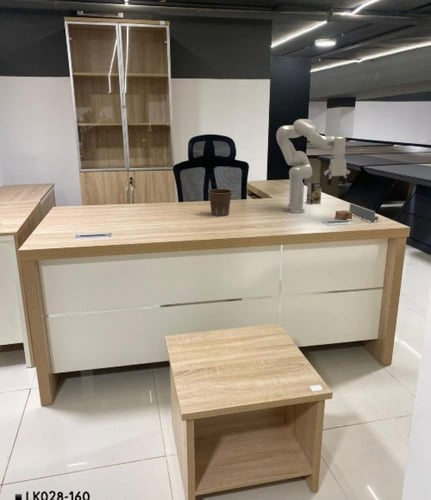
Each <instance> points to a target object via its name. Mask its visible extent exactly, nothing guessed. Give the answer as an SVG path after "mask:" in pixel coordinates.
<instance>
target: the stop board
mask: <svg viewBox="0 0 431 500" xmlns="http://www.w3.org/2000/svg"><path fill="white" fill-rule="evenodd" d="M348 211H349V212H352V214H354V215H356V216H358V217H361V218H364V219H366V220H369V221H371V222H374V221H375V220H379V216H377V215H376V211H375V210H373V209H369V208H366V207H363V206H360V205H357V204H355V203H350V204H349V209H348ZM356 216H355V217H356ZM358 217H357V218H358ZM361 218H360V219H361ZM366 220H365V221H366ZM371 222H370V223H371ZM374 223H375V222H374Z"/></svg>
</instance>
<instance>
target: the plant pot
mask: <svg viewBox="0 0 431 500" xmlns="http://www.w3.org/2000/svg"><path fill="white" fill-rule="evenodd" d="M207 192H208V196H209V205H210V213H211V214H210V215H212V216H214V217H215V216H216V217H223V216H224V217H227V216H228V215H230V206H231V199H232V193H233V190H231V189H228V188H227V189H225V188H223V189H222V188H214V189H209V190H208V191H207Z"/></svg>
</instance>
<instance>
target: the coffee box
mask: <svg viewBox="0 0 431 500" xmlns="http://www.w3.org/2000/svg"><path fill="white" fill-rule="evenodd" d="M322 185H323V182H320V181H309V182H307V187H306V201H305V203H306V204H308V205H318V204H319V205H320V204H321V199H322V190H323V188H322V187H323V186H322Z"/></svg>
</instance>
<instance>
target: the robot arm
mask: <svg viewBox="0 0 431 500" xmlns="http://www.w3.org/2000/svg"><path fill="white" fill-rule="evenodd" d="M275 136H276V141H277V144H278V146H279V148H280V150H281V152H282V154H283V155H282V156H283V157H284V160H285V163H286V164H287V165H288V166H292V167H291V168H290V169H289V171H288V175H289V176H288V177H289V198H288V199H289V201H288V204H287V205H285V206H284V205H283V206H282V207H281V208H282V209H283V210H286V212H287V213H292V214H302V213H305V212H306V211H305V209H304V208H303V205H304V192H305V191H304V189H305V187H304V185H305V183H304V182H303V180H305V179H309V178H311V177H312V175H313V168H312V165H311V163H310V160H309V158H308V156H307V154H306V153H305V152H304V151H301V150H296V148H295V147H294V144H293V143H292V141H291V140H290V139H295V138H299V137H302V136H304V137H305V138H307V139H308V141H309V143H310V144H312V145H313V146H315V147H316V148H318V149H321V150H326V149H329V150H330V149H332V150H331V155H330V156H329V158H331V159H330V161H329V166H328V169H326V170H325V171H324V172H323V174H324V176H325V177H326V179H327V181H326V184H327V185H328V186H332V177H340V176H341V177H342V178H341V185H346V180H347V178H348V176H349V175H350V173H351V170H349V169H348V168H347V160H346V159H345V157H346V156H345V153H346V141H347V140H346V137H345V136H335V135H330V136H329V135H327V136H326V135H325V136H324V135H321V134H319V133H318V128H317V126H316V125H314V123H313V121H312V120H311V119H309V118H298V119H297V120H295V121H294V123H293V124H292V125H289V124H287V125H282V126H280V127H279V128H278V129H277V131H276V135H275Z"/></svg>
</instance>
